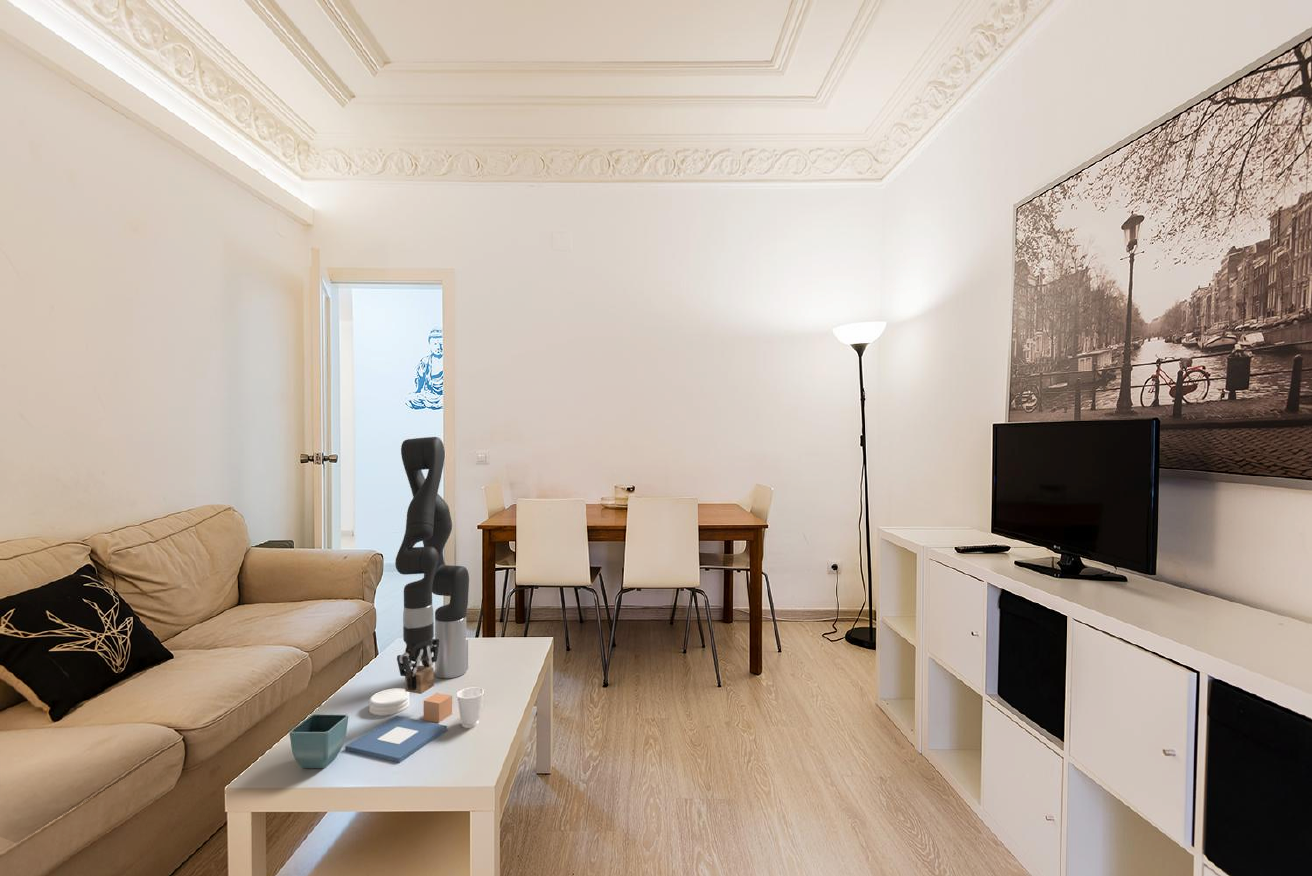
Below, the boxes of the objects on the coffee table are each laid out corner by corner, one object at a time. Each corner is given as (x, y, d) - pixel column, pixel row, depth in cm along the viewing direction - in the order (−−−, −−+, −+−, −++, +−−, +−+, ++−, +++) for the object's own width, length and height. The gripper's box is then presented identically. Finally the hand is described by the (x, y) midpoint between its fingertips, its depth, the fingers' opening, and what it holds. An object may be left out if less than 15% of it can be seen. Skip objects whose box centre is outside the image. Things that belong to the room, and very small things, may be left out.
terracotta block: (436, 711, 159) (436, 692, 159) (452, 714, 158) (452, 695, 158) (423, 719, 155) (423, 700, 155) (439, 723, 153) (439, 703, 153)
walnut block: (418, 683, 162) (418, 665, 162) (433, 686, 161) (433, 667, 161) (405, 691, 158) (405, 672, 157) (420, 694, 156) (420, 675, 156)
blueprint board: (396, 719, 155) (396, 715, 155) (447, 730, 149) (447, 725, 149) (345, 750, 140) (345, 745, 140) (399, 762, 134) (399, 758, 134)
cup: (451, 730, 149) (451, 698, 149) (465, 712, 159) (465, 682, 159) (480, 730, 149) (479, 698, 149) (491, 712, 159) (491, 682, 159)
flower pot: (312, 752, 139) (312, 713, 139) (349, 752, 138) (349, 714, 138) (288, 773, 130) (288, 732, 130) (327, 774, 130) (327, 732, 130)
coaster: (394, 718, 156) (394, 705, 156) (360, 715, 158) (360, 701, 158) (417, 701, 166) (417, 689, 166) (385, 698, 168) (385, 686, 168)
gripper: (425, 612, 167) (426, 672, 167) (387, 629, 153) (388, 694, 153) (447, 615, 164) (448, 676, 165) (410, 632, 151) (412, 699, 151)
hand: (419, 684), depth 159 cm, fingers closed on walnut block, 5 cm apart
